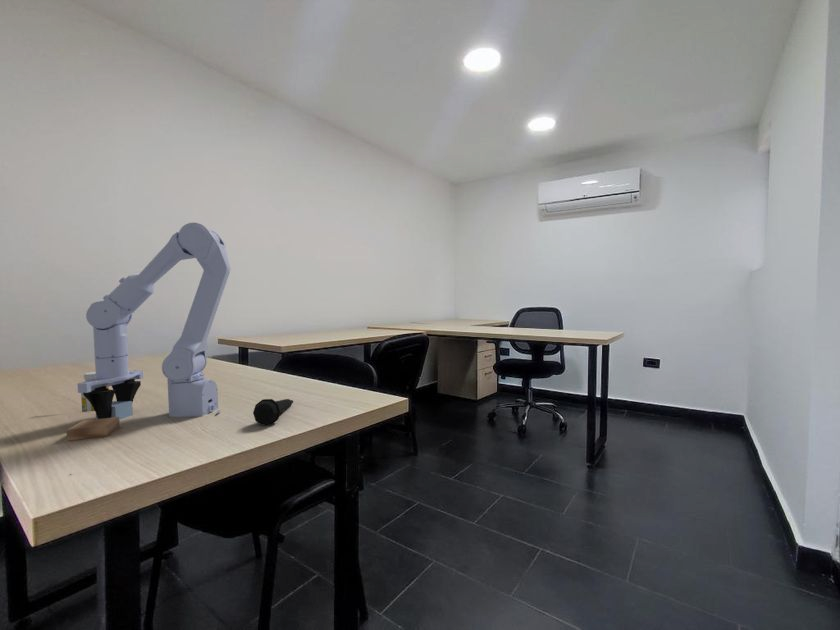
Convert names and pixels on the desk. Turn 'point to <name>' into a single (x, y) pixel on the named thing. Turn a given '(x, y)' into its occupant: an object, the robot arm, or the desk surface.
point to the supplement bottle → (85, 403)
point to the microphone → (270, 410)
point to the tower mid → (93, 428)
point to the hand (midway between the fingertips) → (115, 417)
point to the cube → (121, 409)
